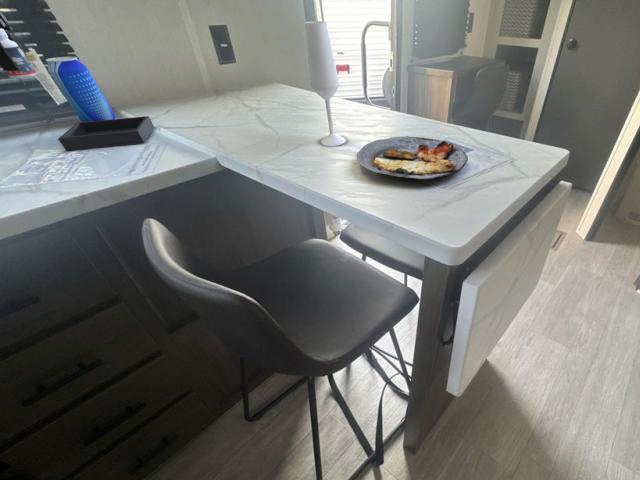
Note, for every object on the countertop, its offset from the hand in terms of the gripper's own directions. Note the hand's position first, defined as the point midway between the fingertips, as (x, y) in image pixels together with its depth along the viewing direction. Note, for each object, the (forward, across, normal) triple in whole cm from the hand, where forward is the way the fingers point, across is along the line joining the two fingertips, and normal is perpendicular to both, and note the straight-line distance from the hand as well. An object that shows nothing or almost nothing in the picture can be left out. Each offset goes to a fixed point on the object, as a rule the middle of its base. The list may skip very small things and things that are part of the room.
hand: (18, 67), depth 76 cm
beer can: (+16, +9, -6) cm, 19 cm away
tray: (+16, -5, -12) cm, 21 cm away
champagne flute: (+16, -27, -70) cm, 76 cm away
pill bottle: (+2, 0, 0) cm, 2 cm away
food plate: (+16, -48, -85) cm, 99 cm away
